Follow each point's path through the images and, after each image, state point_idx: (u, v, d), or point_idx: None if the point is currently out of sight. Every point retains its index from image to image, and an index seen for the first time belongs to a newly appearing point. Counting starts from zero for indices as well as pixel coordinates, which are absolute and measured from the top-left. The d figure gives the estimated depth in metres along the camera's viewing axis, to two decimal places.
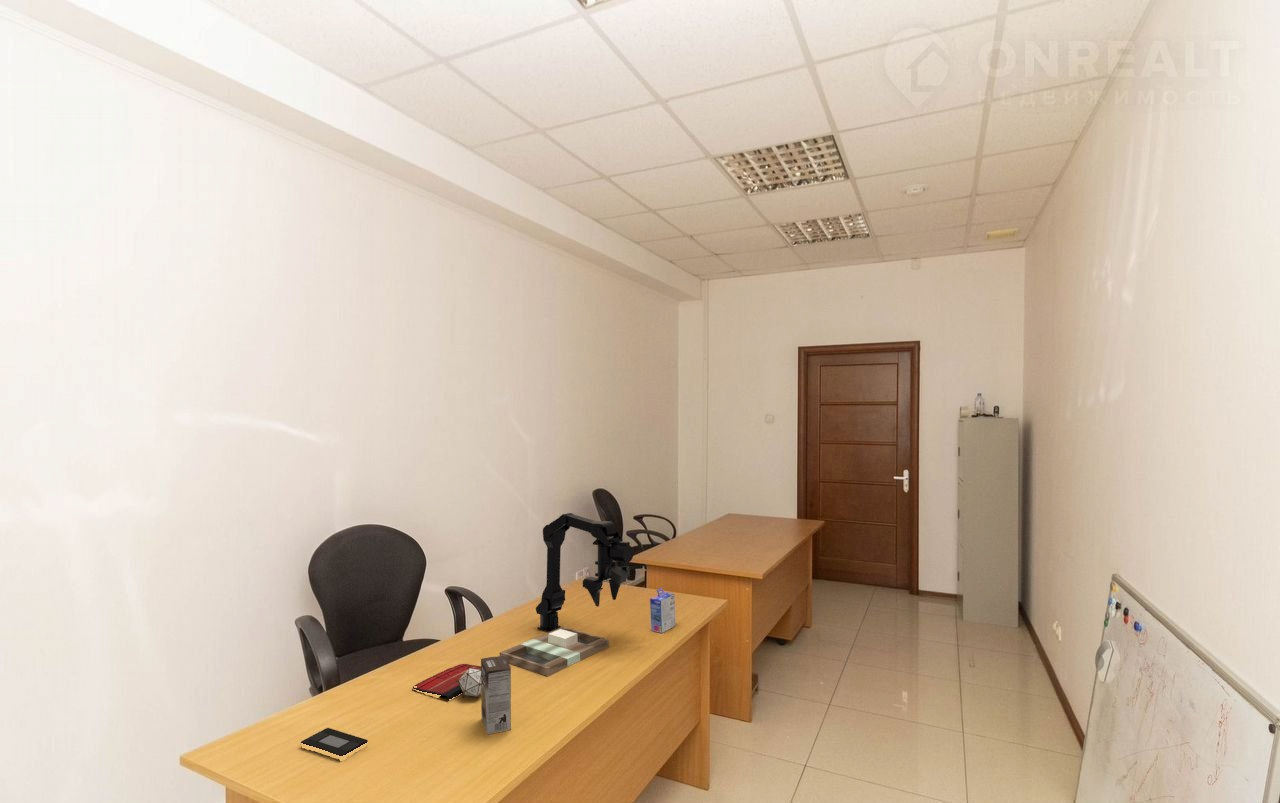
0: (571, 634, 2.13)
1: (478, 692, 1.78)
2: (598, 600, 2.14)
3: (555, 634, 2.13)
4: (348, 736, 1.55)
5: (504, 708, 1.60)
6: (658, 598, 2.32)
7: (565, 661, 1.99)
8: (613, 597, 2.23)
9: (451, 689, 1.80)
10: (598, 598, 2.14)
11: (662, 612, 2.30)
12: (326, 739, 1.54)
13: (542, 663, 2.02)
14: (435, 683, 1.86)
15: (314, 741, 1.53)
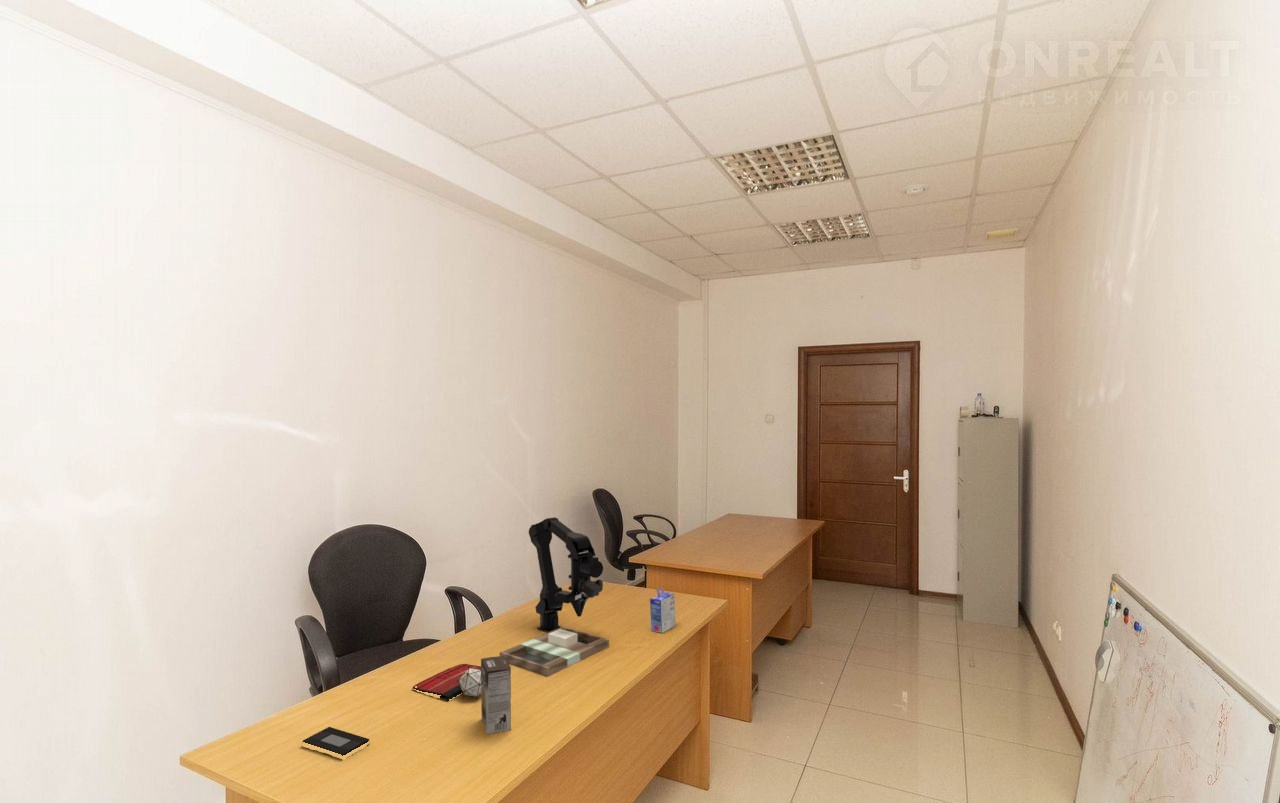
0: (571, 634, 2.13)
1: (478, 692, 1.78)
2: (579, 610, 2.20)
3: (555, 634, 2.13)
4: (350, 735, 1.55)
5: (504, 708, 1.60)
6: (658, 598, 2.32)
7: (565, 661, 1.99)
8: None
9: (451, 689, 1.80)
10: (579, 608, 2.20)
11: (662, 612, 2.30)
12: (328, 738, 1.54)
13: (542, 663, 2.02)
14: (435, 683, 1.86)
15: (316, 740, 1.53)
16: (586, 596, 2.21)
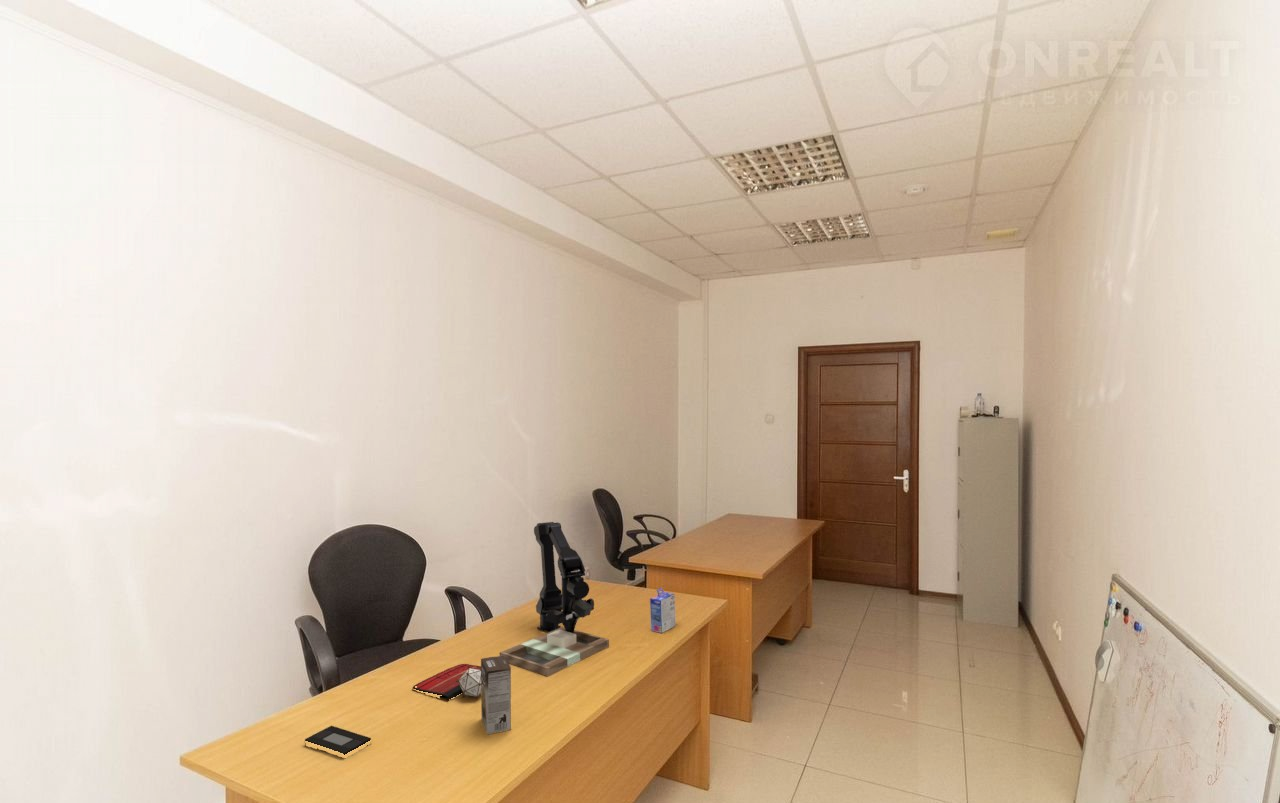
0: (570, 635, 2.13)
1: (478, 692, 1.78)
2: (571, 630, 2.16)
3: (554, 635, 2.13)
4: (352, 734, 1.56)
5: (504, 708, 1.60)
6: (658, 598, 2.32)
7: (565, 661, 1.99)
8: None
9: (451, 689, 1.80)
10: (570, 628, 2.16)
11: (662, 612, 2.30)
12: (330, 737, 1.55)
13: (542, 663, 2.02)
14: (435, 683, 1.86)
15: (318, 739, 1.54)
16: (577, 615, 2.17)
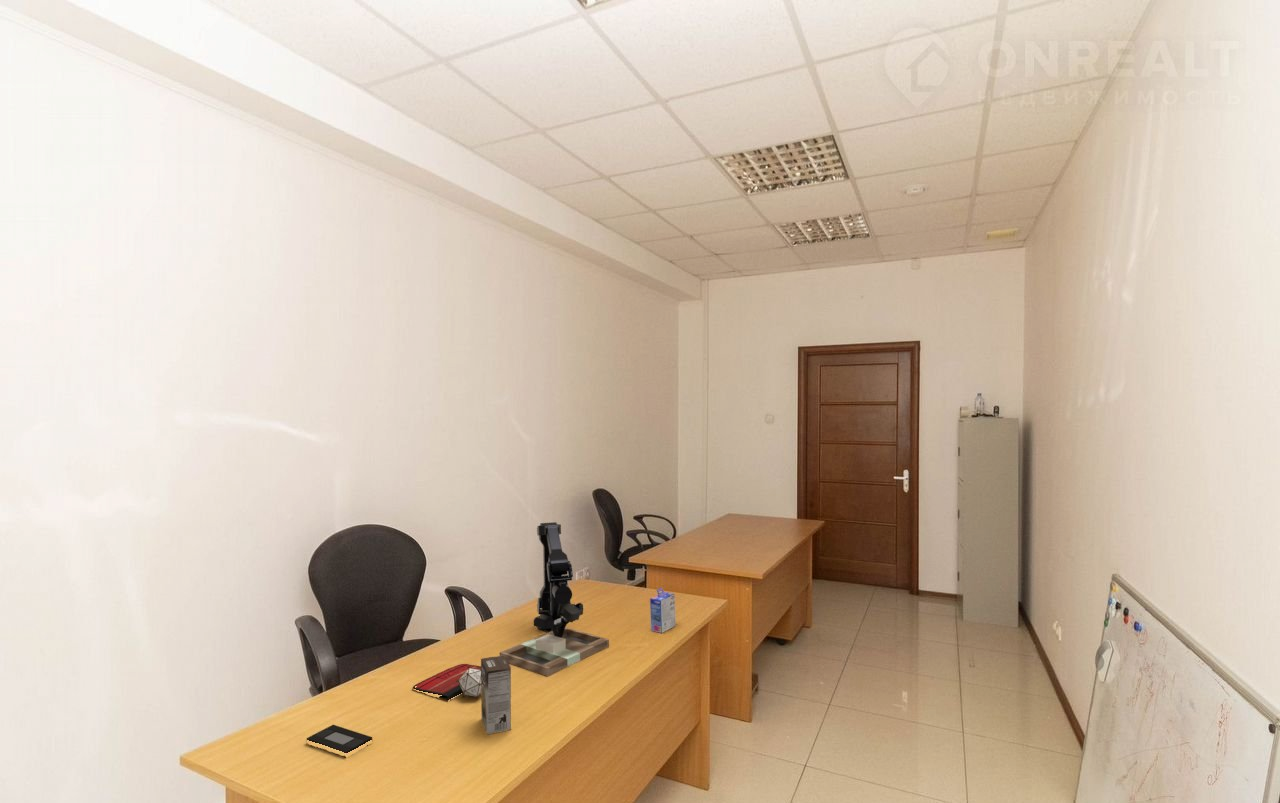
0: (559, 640, 2.08)
1: (478, 692, 1.78)
2: (559, 635, 2.12)
3: (542, 640, 2.08)
4: (353, 733, 1.56)
5: (504, 708, 1.60)
6: (658, 598, 2.32)
7: (565, 661, 1.99)
8: None
9: (451, 689, 1.81)
10: (559, 633, 2.11)
11: (662, 612, 2.30)
12: (332, 736, 1.55)
13: (542, 663, 2.02)
14: (435, 683, 1.86)
15: (319, 738, 1.54)
16: (566, 620, 2.13)
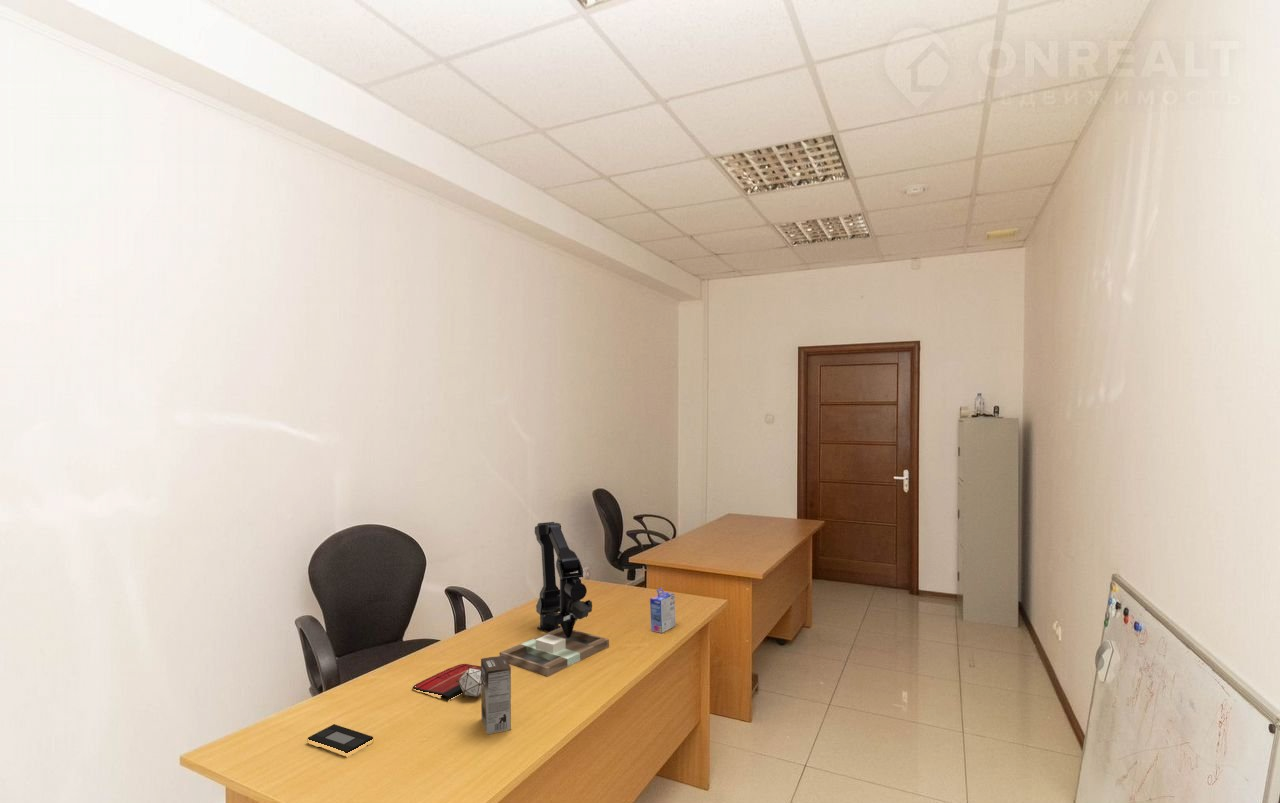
0: (559, 640, 2.08)
1: (478, 692, 1.78)
2: (568, 631, 2.15)
3: (542, 640, 2.08)
4: (354, 732, 1.57)
5: (504, 708, 1.60)
6: (658, 598, 2.32)
7: (565, 661, 1.99)
8: None
9: (451, 689, 1.81)
10: (568, 630, 2.15)
11: (662, 612, 2.30)
12: (332, 736, 1.55)
13: (542, 663, 2.02)
14: (435, 683, 1.86)
15: (320, 737, 1.54)
16: (575, 617, 2.17)
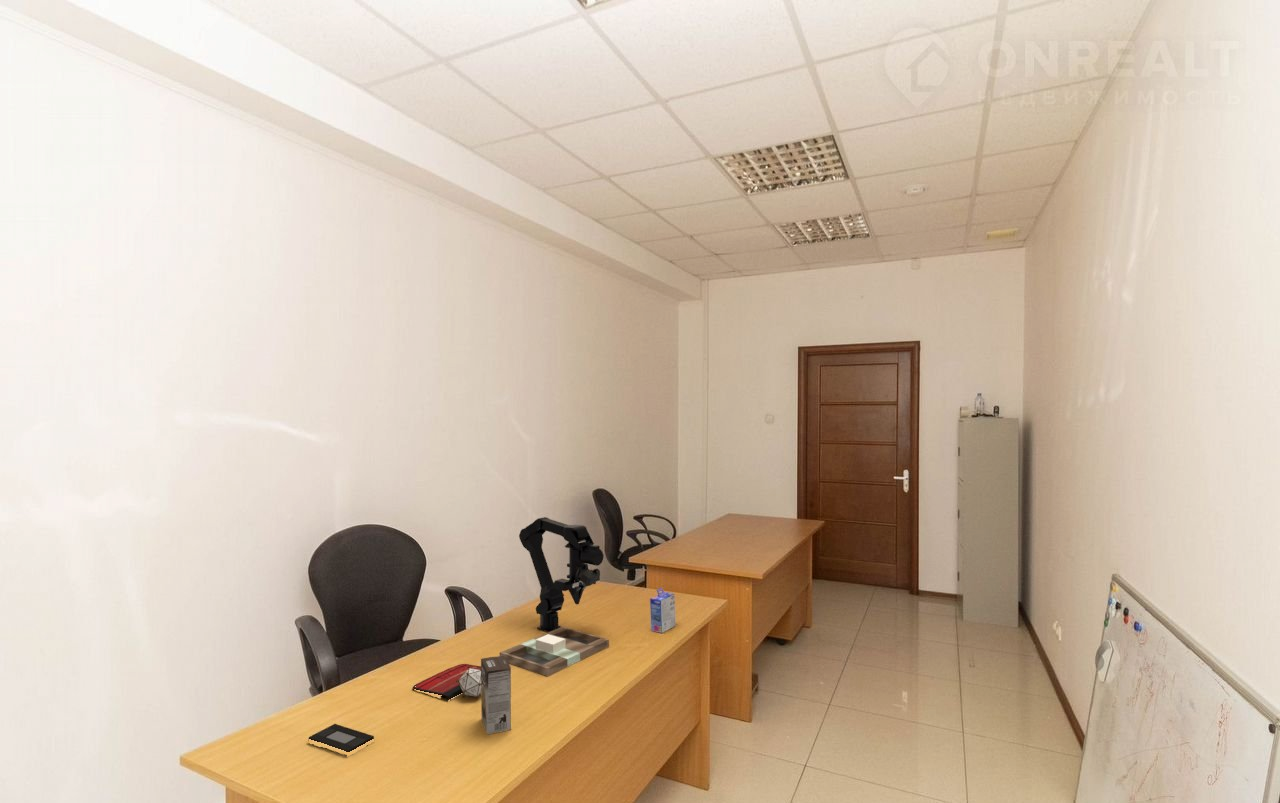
0: (559, 640, 2.08)
1: (478, 692, 1.78)
2: (577, 598, 2.25)
3: (542, 640, 2.08)
4: (355, 732, 1.57)
5: (504, 708, 1.60)
6: (658, 598, 2.32)
7: (565, 661, 1.99)
8: None
9: (451, 689, 1.81)
10: (577, 596, 2.25)
11: (662, 612, 2.30)
12: (333, 735, 1.56)
13: (542, 663, 2.02)
14: (435, 683, 1.86)
15: (321, 737, 1.55)
16: (584, 584, 2.27)
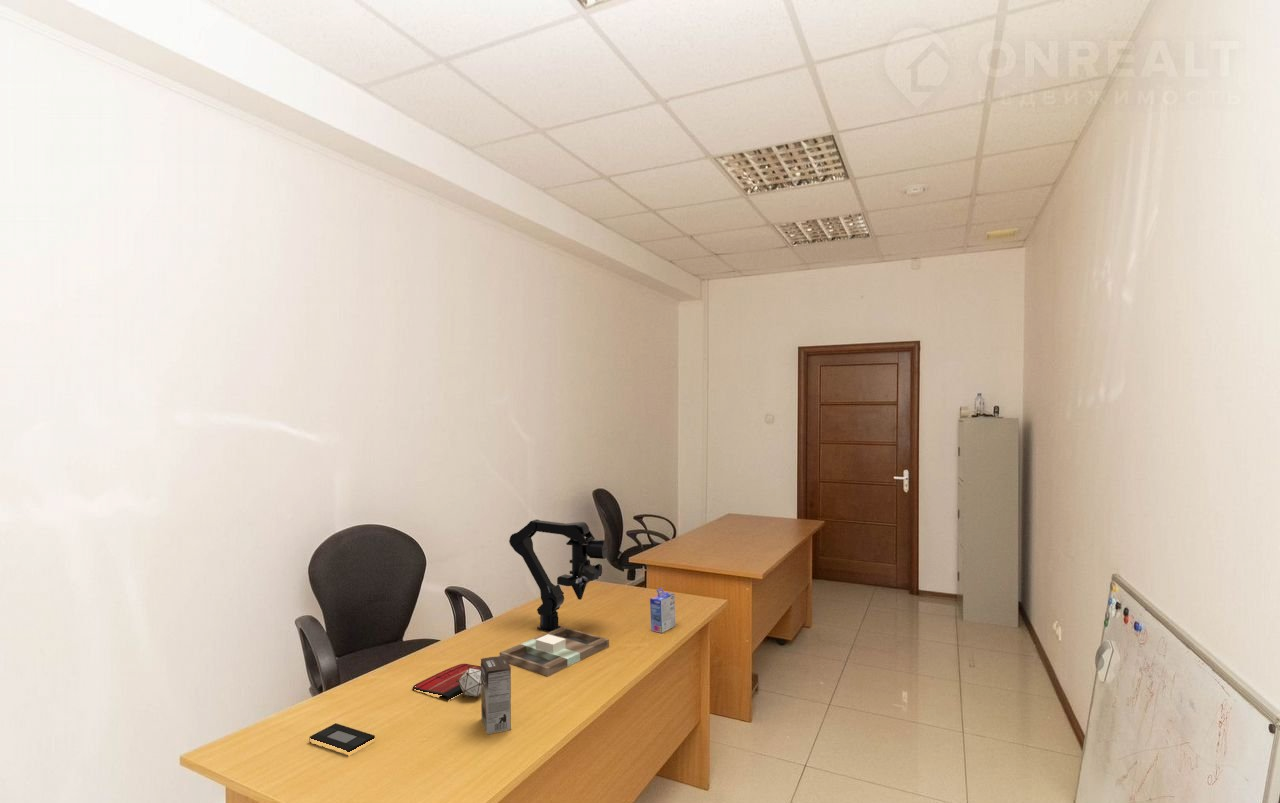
0: (559, 640, 2.08)
1: (478, 692, 1.78)
2: (580, 593, 2.31)
3: (542, 640, 2.08)
4: (356, 731, 1.57)
5: (504, 708, 1.60)
6: (658, 598, 2.32)
7: (565, 661, 1.99)
8: None
9: (451, 689, 1.81)
10: (580, 592, 2.30)
11: (662, 612, 2.30)
12: (334, 734, 1.56)
13: (542, 663, 2.02)
14: (435, 683, 1.86)
15: (322, 736, 1.55)
16: (586, 580, 2.32)
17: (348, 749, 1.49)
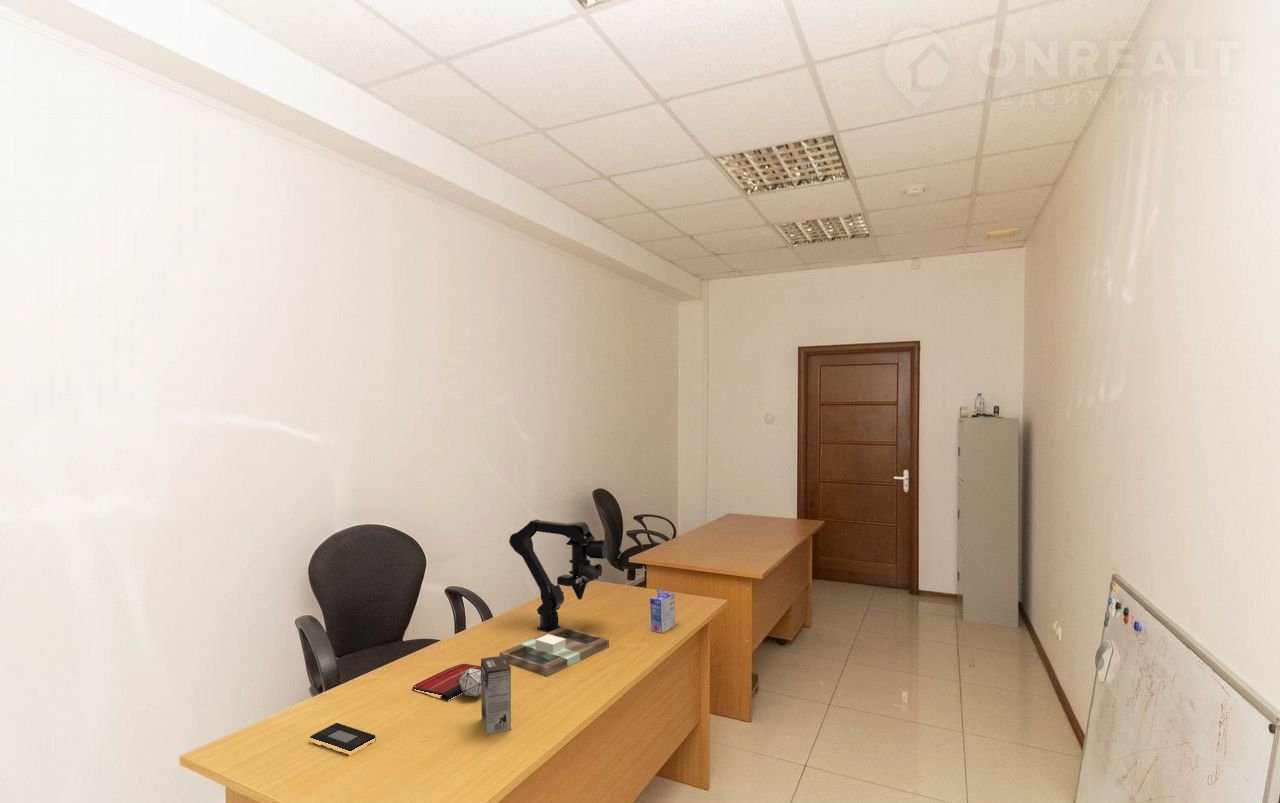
0: (559, 640, 2.08)
1: (478, 692, 1.78)
2: (580, 593, 2.31)
3: (542, 640, 2.08)
4: (357, 731, 1.57)
5: (504, 708, 1.60)
6: (658, 598, 2.32)
7: (565, 661, 1.99)
8: None
9: (451, 689, 1.81)
10: (580, 592, 2.30)
11: (662, 612, 2.30)
12: (335, 734, 1.56)
13: (542, 663, 2.02)
14: (435, 683, 1.86)
15: (323, 736, 1.55)
16: (586, 580, 2.32)
17: (349, 749, 1.49)
